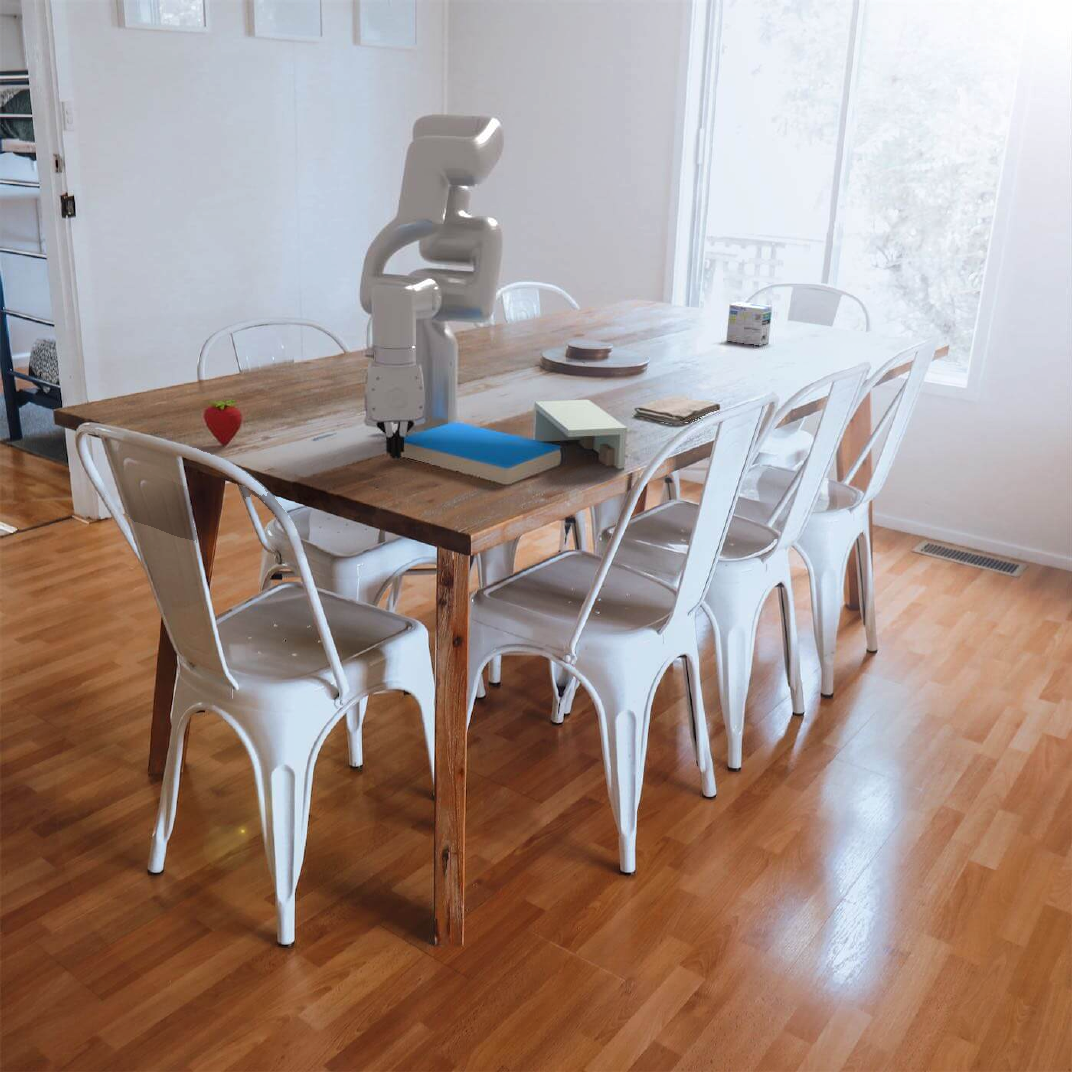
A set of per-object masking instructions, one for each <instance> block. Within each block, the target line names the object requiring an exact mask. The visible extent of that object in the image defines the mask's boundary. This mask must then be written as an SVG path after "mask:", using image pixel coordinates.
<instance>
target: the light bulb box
mask: <svg viewBox="0 0 1072 1072" xmlns="http://www.w3.org/2000/svg"><path fill="white" fill-rule="evenodd" d="M728 309H729V311H728V319H727V332H726V342H727V341H732V342H731V343H735V342H737V344H742V343H744V344H743V345H749V344H754V345H753V346H756V345H759V346H758V347H761V346H764V345H766V344H769V343H770V333H771V332H770V331H771V323H772V321H771V320H772V313H773V311H772V310H773V306H772V305H765V304H757V303H756V304H755V303H746V302H742V301H738V302H734V303H731V304H729V308H728ZM763 344H764V345H763Z"/></svg>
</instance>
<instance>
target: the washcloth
mask: <svg viewBox="0 0 1072 1072" xmlns="http://www.w3.org/2000/svg"><path fill="white" fill-rule="evenodd" d="M717 410H719V411H720V410H721V405H720V403H717V402H713V401H707V400H699V399H693V398H689V397H684V396H678V395H673V396H669V397H665V398H660V399H658V400H654V401H651V402H648V403H645V404H640V405H637V406H636V407H635V408H634V411H635V412H636V413H635V414H633V417H637V416H638V417H637V418H640V419H643V420H646V419H650V420H649V421H651V420H653V421H652V422H656V421H657V422H656V423H660V422H664V423H668V424H667V425H669V424H672V425H671V426H675V425H677V426H682V425H685V424H684V423H685V422H688V423H687V424H689V422H690V423H692V422H694V421H693V420H695V419H698V418H700V417H702V416H705V415H706V414H708V413H710V412H714V411H717ZM664 423H663V424H664ZM680 424H682V425H680Z"/></svg>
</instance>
